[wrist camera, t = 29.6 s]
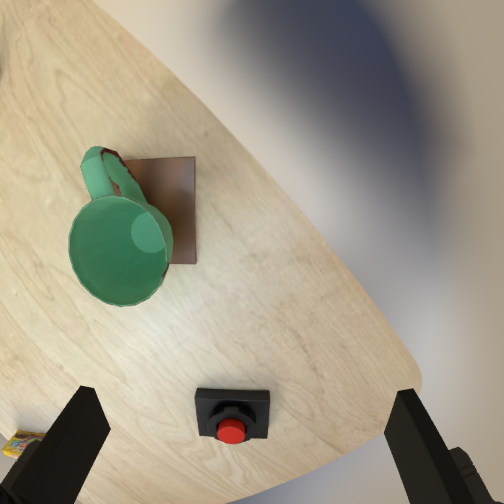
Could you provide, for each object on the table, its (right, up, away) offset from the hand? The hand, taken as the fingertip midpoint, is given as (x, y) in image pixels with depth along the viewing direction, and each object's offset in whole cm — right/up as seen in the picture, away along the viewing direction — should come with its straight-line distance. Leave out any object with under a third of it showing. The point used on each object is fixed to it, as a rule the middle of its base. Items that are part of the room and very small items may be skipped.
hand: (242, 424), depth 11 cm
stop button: (-2, -16, +26) cm, 31 cm away
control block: (-2, -16, +29) cm, 33 cm away
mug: (-12, +12, +22) cm, 28 cm away
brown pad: (-12, +12, +23) cm, 28 cm away
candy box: (-45, -32, +34) cm, 65 cm away
